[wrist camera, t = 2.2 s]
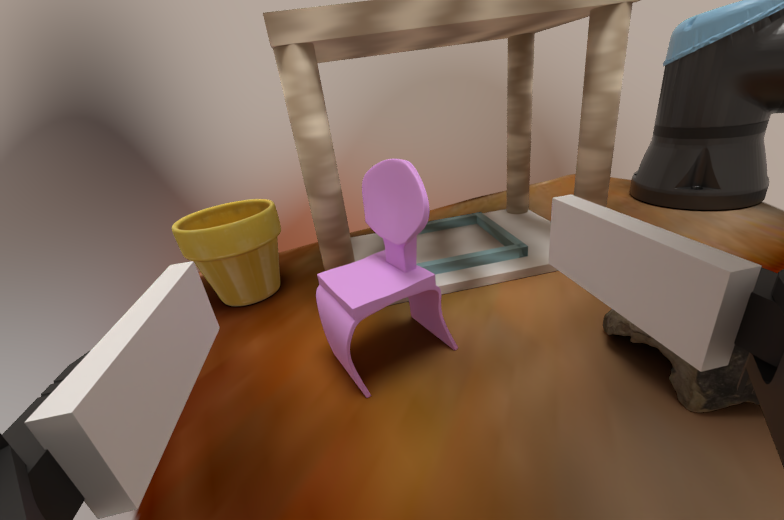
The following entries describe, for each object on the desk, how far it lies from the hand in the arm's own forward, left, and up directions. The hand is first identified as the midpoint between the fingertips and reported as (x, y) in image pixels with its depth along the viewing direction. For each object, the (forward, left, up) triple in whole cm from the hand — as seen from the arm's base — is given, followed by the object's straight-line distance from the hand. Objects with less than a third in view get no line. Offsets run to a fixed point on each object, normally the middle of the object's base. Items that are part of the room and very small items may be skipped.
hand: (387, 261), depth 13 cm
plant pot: (+14, -28, -14) cm, 34 cm away
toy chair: (0, -12, -14) cm, 18 cm away
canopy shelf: (-10, -28, -13) cm, 32 cm away
